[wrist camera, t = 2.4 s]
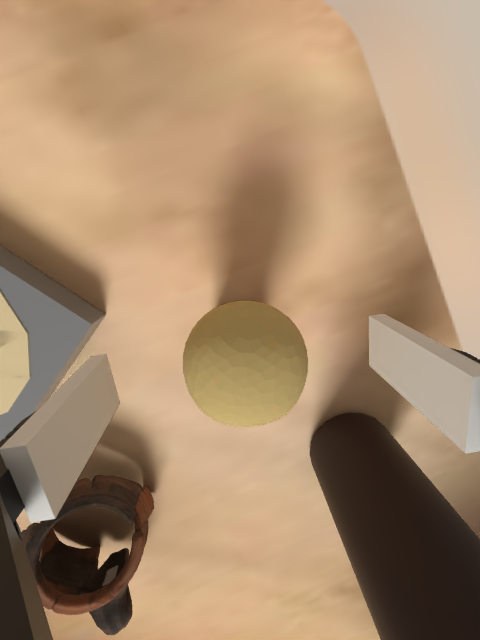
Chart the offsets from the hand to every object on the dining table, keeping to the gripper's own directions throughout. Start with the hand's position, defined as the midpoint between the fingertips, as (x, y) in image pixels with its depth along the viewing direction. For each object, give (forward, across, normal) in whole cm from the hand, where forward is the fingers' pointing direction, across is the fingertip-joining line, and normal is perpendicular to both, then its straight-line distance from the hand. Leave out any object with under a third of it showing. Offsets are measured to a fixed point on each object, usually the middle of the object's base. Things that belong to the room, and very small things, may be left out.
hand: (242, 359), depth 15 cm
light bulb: (+8, 0, 0) cm, 8 cm away
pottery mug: (+8, +13, +16) cm, 22 cm away
